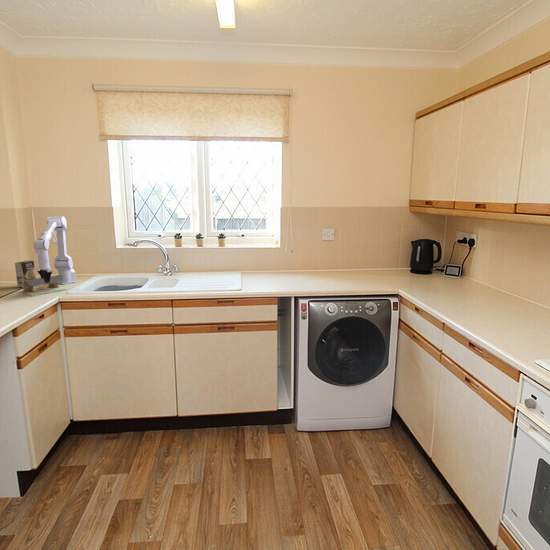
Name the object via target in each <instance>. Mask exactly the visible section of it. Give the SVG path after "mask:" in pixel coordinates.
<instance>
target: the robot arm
mask: <svg viewBox="0 0 550 550" xmlns="http://www.w3.org/2000/svg"><path fill="white" fill-rule="evenodd" d="M67 224H68V223H67V218H66V217H65V216H63V215H62V216H48V217H46V227H45V230H44V231H41V233H40V235H39V237H38V239H36V240H34V242H33V248H34V250H35V253H36V256H37V257H36V258H37V265H38V266H37V267H36V270H37V272H36V273H38V274H39V277H40V278H42V277H44V280H45V283H48V284H49V283H50V277H51V276H52V273H53V270H52V268H51V266H50V257H49V252H48V250H49V248H50V241H51V239H52V237H53V234H52V233H53V232H54V231H55V232H56V240H57V241H56V242H57V253H58V254H57V256H55V258H54V265H53V266H54V268H55V270H57V272H58V275H62V277H63V281H60V282H57V283H58V284H60V285H66V284H73V283H77V278H76V275H77V274H76V270H75V269H74V268H73V266H74V263H73V262H74V261H73V258H72V257H71V256H69V255H68V254H67V253H68V251H67V241H66V239H67V238H66V230H67V229H68V225H67Z"/></svg>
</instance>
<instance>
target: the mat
mask: <svg viewBox="0 0 550 550" xmlns="http://www.w3.org/2000/svg"><path fill="white" fill-rule="evenodd" d="M66 289H67V287H62V286H59V288H53V289H47V290H42V291H36V292H31V293H26V295H27V294H28V296H30V297H35V295H36V296H40V295H41V294H42V295H47V294H52V293H51V292H53V293H57V292H56V291H58V292H62V290H63V291H67V290H66ZM46 293H47V294H46ZM42 295H41V296H42Z"/></svg>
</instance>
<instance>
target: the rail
mask: <svg viewBox="0 0 550 550" xmlns="http://www.w3.org/2000/svg"><path fill="white" fill-rule="evenodd" d="M60 281H63V277H62V275H59V274H56V275H51V277H50V283H54V282H60ZM28 284H29V286H33V287H34V286H35V287H36V286H40V285H41V286H42V285H46V284H48V285H49V283H45V280H44V277H42V278H41V277H36V279H29V280H28Z"/></svg>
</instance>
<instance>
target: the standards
mask: <svg viewBox="0 0 550 550" xmlns="http://www.w3.org/2000/svg"><path fill="white" fill-rule="evenodd" d="M23 284H24V288H23V290H22V292H23V293H25V292H26V294H27V293H31V292H36V291H42V290H47V289H53V288H59V287H60V286H58V284H59V283H57V282H54V283H48V285H46V286H40V287H39V286H38V287H34V286H29V284H28V283H23Z"/></svg>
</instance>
